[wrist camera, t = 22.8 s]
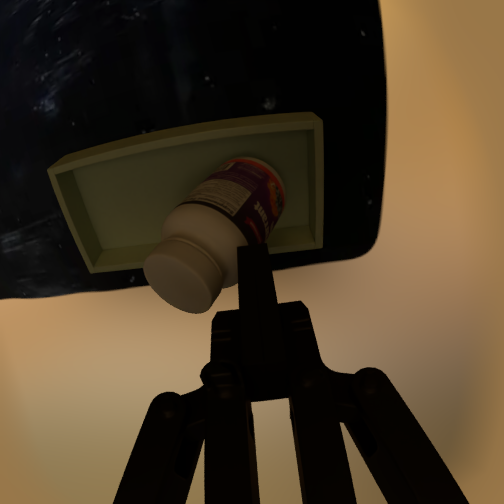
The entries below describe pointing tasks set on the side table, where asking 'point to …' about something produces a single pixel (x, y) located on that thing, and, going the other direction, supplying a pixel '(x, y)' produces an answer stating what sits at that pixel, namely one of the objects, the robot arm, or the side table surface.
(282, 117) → the tray
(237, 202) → the pill bottle
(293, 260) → the side table surface
